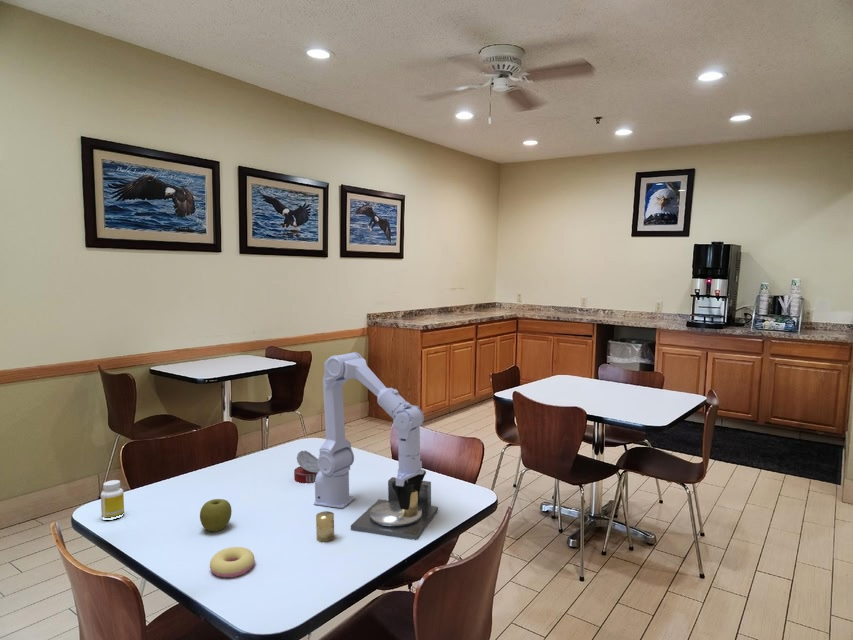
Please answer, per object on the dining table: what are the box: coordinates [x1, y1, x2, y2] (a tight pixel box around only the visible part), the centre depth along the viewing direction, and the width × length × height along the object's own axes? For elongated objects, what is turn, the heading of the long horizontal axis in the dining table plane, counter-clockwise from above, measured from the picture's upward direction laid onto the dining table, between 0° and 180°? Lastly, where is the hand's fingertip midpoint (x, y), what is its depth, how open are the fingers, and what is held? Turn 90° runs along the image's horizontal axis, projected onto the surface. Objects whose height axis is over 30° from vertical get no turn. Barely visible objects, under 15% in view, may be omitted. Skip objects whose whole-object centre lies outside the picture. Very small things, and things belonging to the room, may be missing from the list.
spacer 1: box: [315, 510, 335, 543], centre depth 136 cm, size 4×4×6 cm
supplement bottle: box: [100, 479, 125, 518], centre depth 149 cm, size 5×5×10 cm
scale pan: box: [370, 501, 422, 526], centre depth 146 cm, size 14×14×1 cm
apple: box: [199, 498, 233, 533], centre depth 142 cm, size 8×8×7 cm
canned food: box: [293, 450, 320, 484], centre depth 179 cm, size 11×10×10 cm
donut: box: [209, 546, 255, 578], centre depth 123 cm, size 10×5×9 cm
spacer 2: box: [401, 489, 418, 517], centre depth 145 cm, size 4×4×6 cm
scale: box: [350, 476, 439, 541], centre depth 148 cm, size 18×21×7 cm
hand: (409, 503), depth 145 cm, fingers open, 7 cm apart
